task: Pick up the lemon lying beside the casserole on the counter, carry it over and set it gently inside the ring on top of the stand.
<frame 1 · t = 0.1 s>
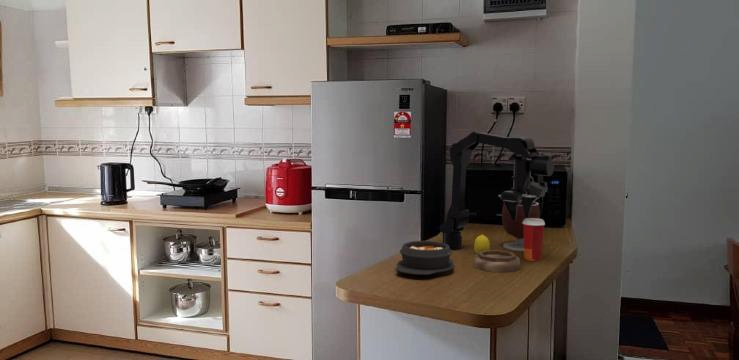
hand: (520, 218, 219), 15 cm above the counter, fingers open, 9 cm apart
mate gourd: (517, 247, 241), on the counter
casserole: (425, 271, 206), on the counter
lemon: (481, 257, 225), on the counter
paper cup: (532, 259, 222), on the counter
stand: (496, 266, 211), on the counter
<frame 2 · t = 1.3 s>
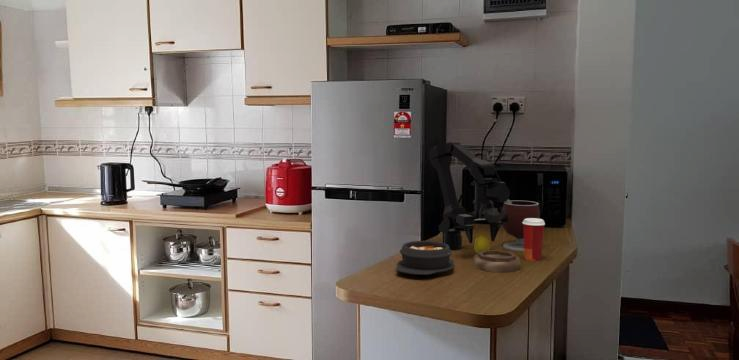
hand: (481, 242, 225), 5 cm above the counter, fingers open, 9 cm apart
nothing on the counter moved.
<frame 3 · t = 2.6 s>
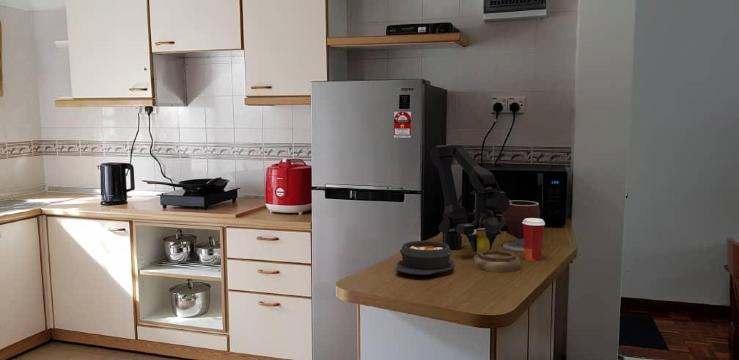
hand: (481, 251, 225), 2 cm above the counter, fingers closed on lemon, 5 cm apart
lemon: (481, 257, 225), on the counter, touching gripper
everything else where it was.
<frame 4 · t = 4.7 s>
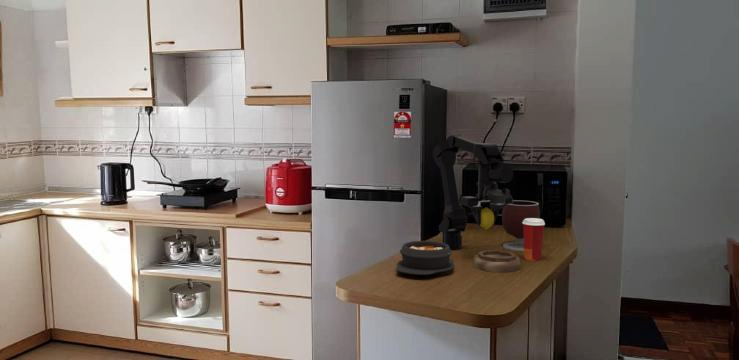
hand: (485, 224, 221), 12 cm above the counter, fingers closed on lemon, 5 cm apart
lemon: (485, 230, 221), point 10 cm above the counter, touching gripper
everything else where it was.
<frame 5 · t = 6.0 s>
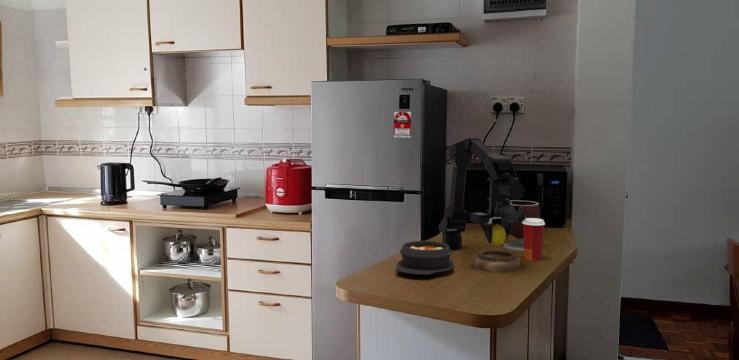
hand: (497, 242, 210), 8 cm above the counter, fingers closed on lemon, 5 cm apart
lemon: (496, 248, 211), point 6 cm above the counter, touching gripper
everything else where it was.
when the fingers open (7 cm above the counter, at t = 7.1 s): lemon drops 1 cm, resting on stand.
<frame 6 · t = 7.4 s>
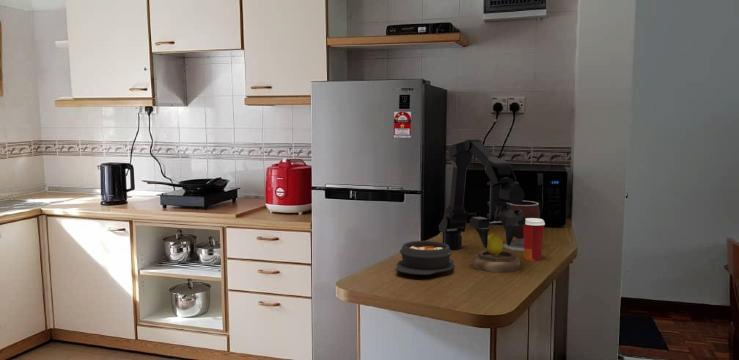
hand: (497, 246, 210), 7 cm above the counter, fingers open, 9 cm apart
lemon: (496, 257, 211), point 3 cm above the counter, touching stand
everything else where it was.
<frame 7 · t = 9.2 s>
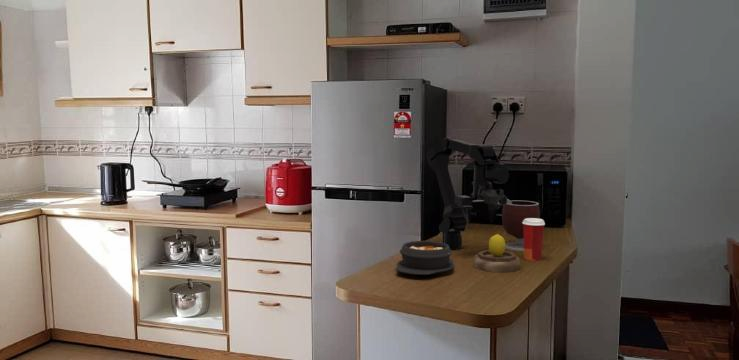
hand: (479, 223, 225), 12 cm above the counter, fingers open, 9 cm apart
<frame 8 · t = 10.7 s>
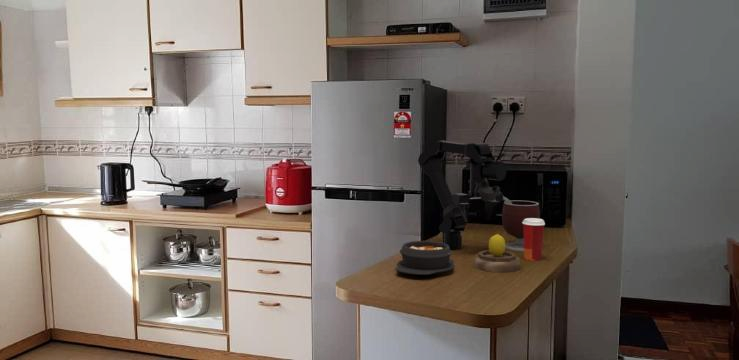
hand: (477, 220, 229), 12 cm above the counter, fingers open, 9 cm apart
at the end: lemon inside the target area on the stand (0.1 cm from its centre), point 2.8 cm above the stand's base; lemon touching stand; the gripper is holding nothing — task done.
